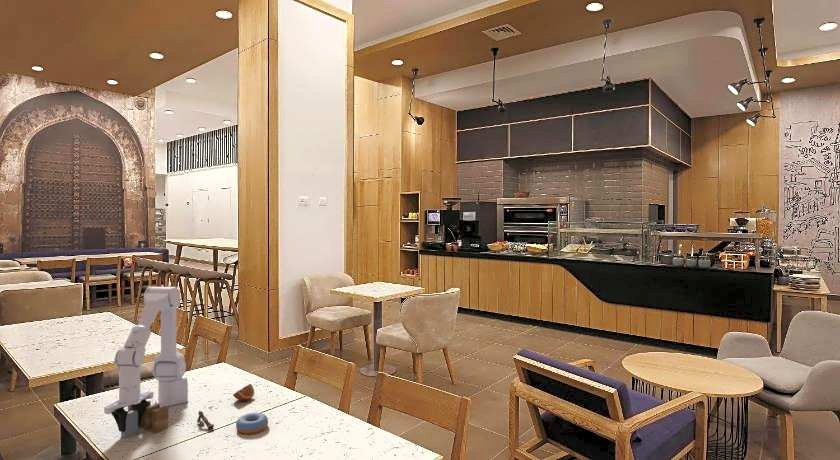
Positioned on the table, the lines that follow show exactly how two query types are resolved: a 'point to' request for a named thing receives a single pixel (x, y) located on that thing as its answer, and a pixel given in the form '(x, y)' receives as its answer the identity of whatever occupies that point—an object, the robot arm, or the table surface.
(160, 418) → the domino
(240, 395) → the fruit slice
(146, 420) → the domino
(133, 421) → the domino
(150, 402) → the domino
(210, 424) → the dark angular frame
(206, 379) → the table surface
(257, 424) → the doughnut
